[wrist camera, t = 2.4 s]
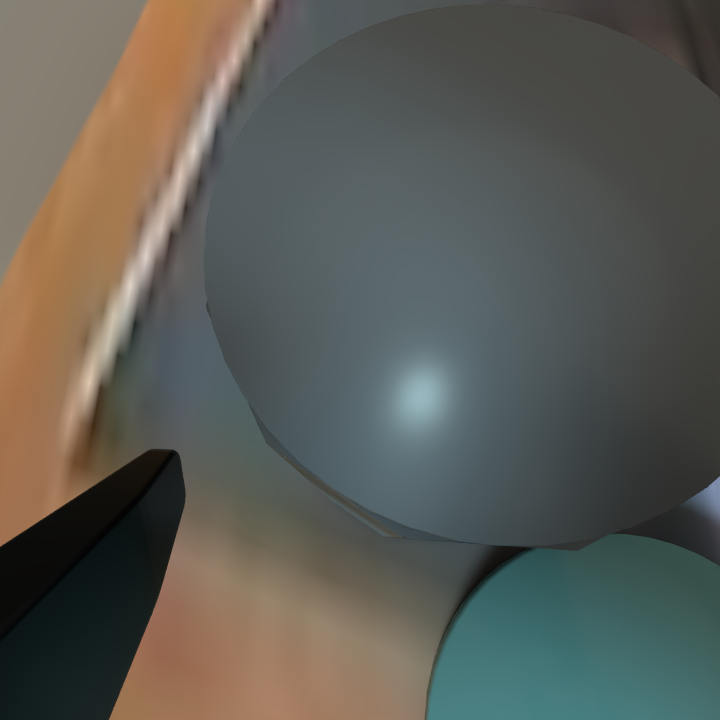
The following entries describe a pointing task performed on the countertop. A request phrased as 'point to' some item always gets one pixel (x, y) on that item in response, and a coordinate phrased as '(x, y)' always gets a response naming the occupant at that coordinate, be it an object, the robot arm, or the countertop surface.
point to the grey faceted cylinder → (479, 277)
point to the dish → (585, 637)
